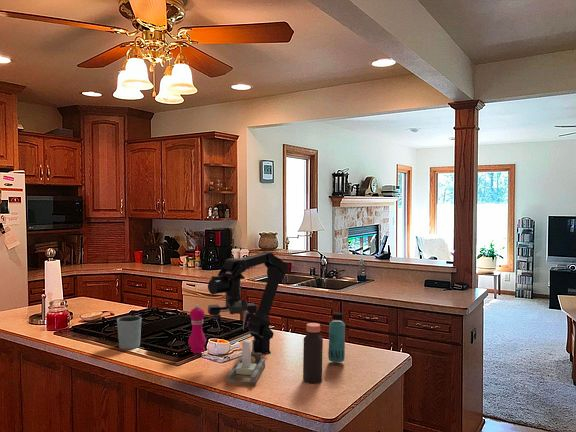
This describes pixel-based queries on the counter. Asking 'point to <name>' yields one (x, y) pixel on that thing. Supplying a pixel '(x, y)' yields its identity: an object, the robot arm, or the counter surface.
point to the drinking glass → (129, 332)
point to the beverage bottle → (336, 339)
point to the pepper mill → (197, 330)
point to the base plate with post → (246, 379)
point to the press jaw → (246, 360)
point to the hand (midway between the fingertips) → (232, 330)
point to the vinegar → (312, 354)
